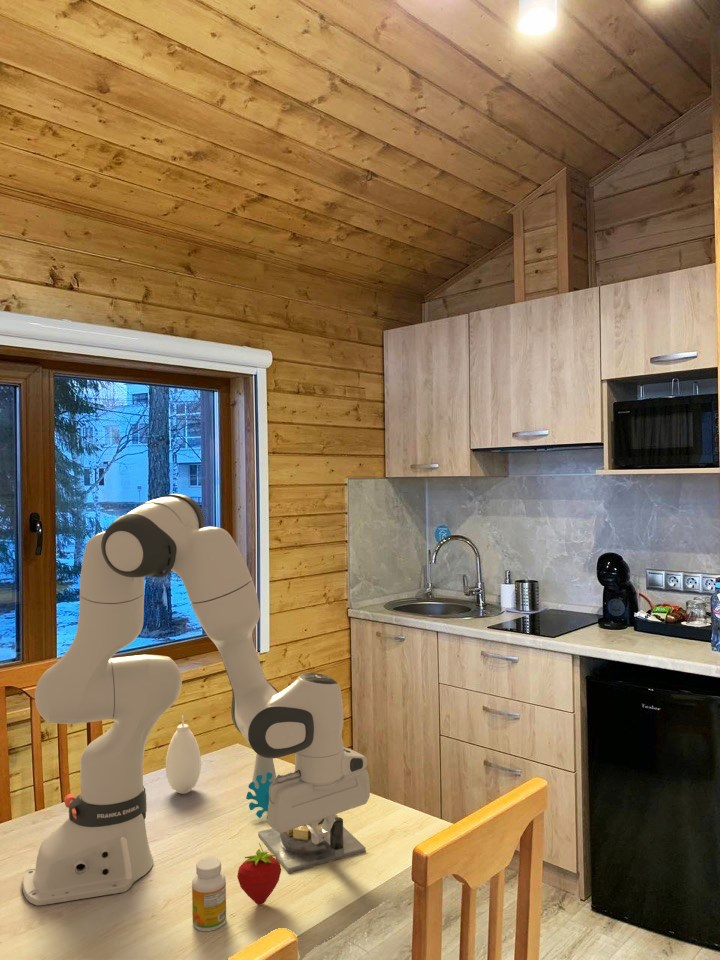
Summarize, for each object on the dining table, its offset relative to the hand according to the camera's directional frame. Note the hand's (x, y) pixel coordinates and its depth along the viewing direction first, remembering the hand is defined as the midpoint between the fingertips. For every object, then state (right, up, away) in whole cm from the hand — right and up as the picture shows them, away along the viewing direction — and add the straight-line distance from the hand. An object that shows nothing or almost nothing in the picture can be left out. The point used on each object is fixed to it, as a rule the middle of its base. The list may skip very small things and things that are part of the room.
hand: (320, 840), depth 136 cm
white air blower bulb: (-33, -7, +37) cm, 51 cm away
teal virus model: (-12, -7, +26) cm, 30 cm away
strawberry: (-10, -7, -8) cm, 15 cm away
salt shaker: (-15, -7, +36) cm, 39 cm away
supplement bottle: (-17, -7, -13) cm, 23 cm away
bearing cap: (-3, -7, +13) cm, 15 cm away
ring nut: (-1, -3, +9) cm, 10 cm away
